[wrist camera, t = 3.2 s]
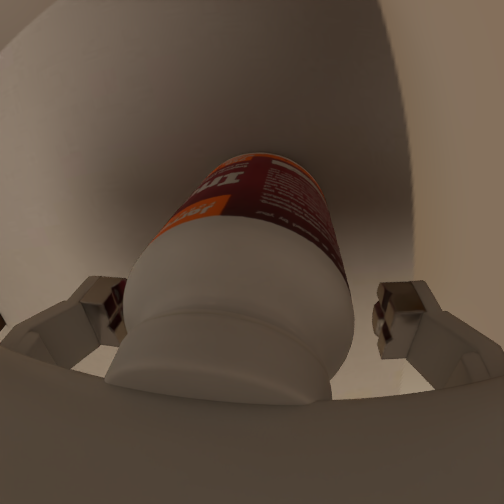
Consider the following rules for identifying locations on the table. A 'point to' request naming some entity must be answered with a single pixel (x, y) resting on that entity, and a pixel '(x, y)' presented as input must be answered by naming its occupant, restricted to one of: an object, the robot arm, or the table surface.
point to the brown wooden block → (1, 323)
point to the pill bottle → (240, 293)
